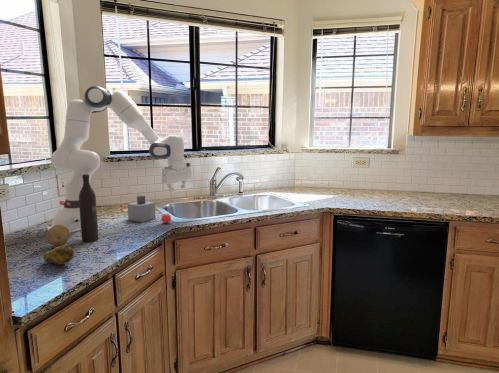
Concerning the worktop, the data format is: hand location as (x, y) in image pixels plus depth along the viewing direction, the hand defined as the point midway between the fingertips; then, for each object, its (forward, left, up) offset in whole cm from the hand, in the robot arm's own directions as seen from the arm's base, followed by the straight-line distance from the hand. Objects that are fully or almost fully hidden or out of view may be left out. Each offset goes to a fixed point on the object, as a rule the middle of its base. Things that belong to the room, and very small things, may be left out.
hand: (177, 189), depth 205 cm
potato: (-74, -7, -16) cm, 76 cm away
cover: (-11, +16, -16) cm, 25 cm away
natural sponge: (-63, +11, -16) cm, 66 cm away
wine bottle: (-49, +9, -16) cm, 53 cm away
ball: (-10, -1, -14) cm, 17 cm away
